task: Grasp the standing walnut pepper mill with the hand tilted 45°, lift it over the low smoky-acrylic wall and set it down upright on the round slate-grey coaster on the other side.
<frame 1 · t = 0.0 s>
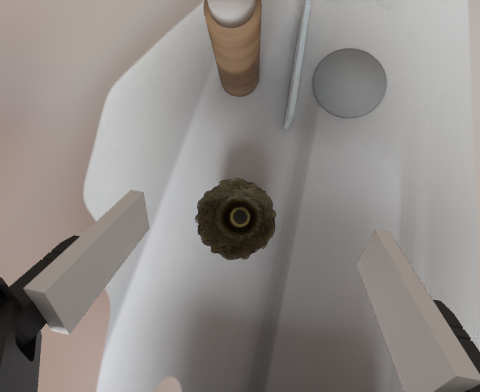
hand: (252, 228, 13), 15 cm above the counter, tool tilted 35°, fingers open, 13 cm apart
pepper mill: (239, 78, 30), on the counter
coaster: (348, 83, 29), on the counter
acrylic wall: (294, 73, 29), on the counter
cup: (240, 216, 29), on the counter
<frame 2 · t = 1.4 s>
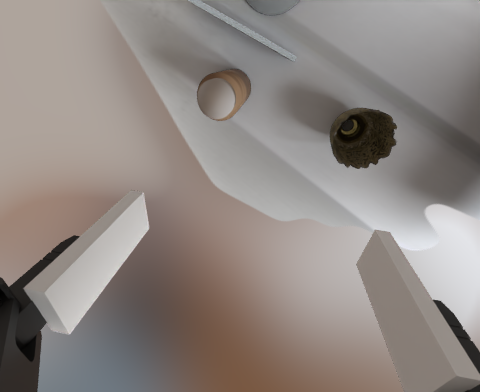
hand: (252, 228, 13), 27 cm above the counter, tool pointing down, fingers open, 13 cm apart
pepper mill: (234, 87, 34), on the counter
acrylic wall: (245, 31, 30), on the counter
cup: (347, 125, 35), on the counter
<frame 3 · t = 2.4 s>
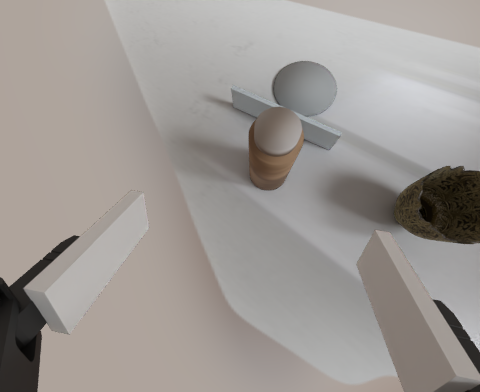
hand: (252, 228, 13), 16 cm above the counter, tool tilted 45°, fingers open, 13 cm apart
pepper mill: (267, 172, 31), on the counter
coaster: (304, 88, 33), on the counter
acrylic wall: (280, 126, 32), on the counter
cup: (404, 214, 29), on the counter
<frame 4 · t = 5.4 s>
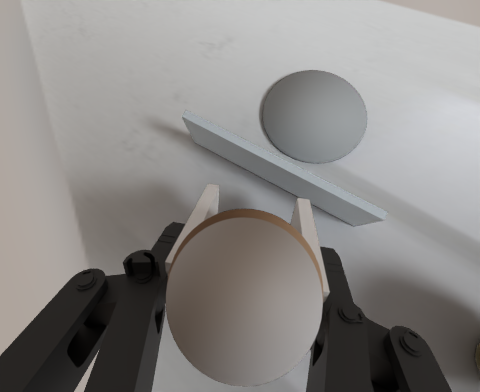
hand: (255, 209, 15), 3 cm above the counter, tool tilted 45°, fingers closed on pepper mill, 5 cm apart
pepper mill: (246, 263, 17), on the counter, touching gripper
coaster: (313, 115, 20), on the counter
acrylic wall: (271, 178, 19), on the counter
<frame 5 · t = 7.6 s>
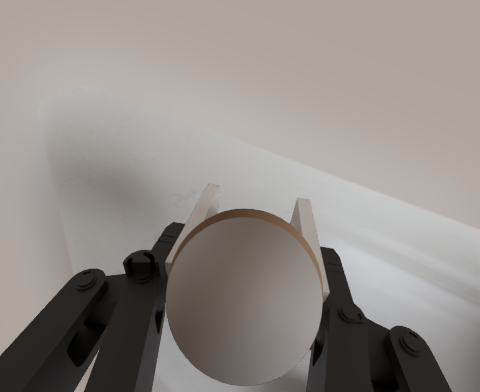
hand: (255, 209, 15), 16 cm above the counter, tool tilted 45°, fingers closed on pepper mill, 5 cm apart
pepper mill: (246, 263, 17), point 13 cm above the counter, touching gripper
when the fingers open (5 cm above the counter, at t = 9.9 s): pepper mill drops 1 cm, resting on coaster.
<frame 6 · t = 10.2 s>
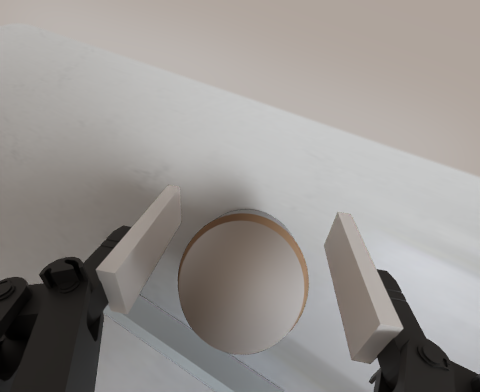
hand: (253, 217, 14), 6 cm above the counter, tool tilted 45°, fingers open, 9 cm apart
pepper mill: (246, 263, 19), resting on coaster
acrylic wall: (197, 338, 18), on the counter
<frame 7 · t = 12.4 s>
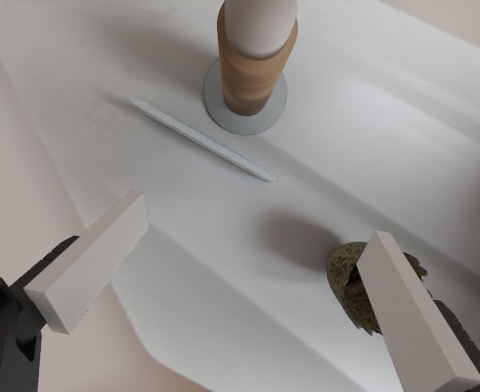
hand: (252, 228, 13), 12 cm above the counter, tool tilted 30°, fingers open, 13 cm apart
pepper mill: (245, 92, 24), resting on coaster
coaster: (245, 93, 25), on the counter
acrylic wall: (210, 147, 25), on the counter
cup: (340, 259, 27), on the counter
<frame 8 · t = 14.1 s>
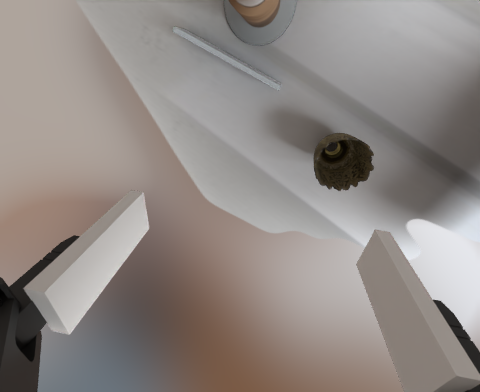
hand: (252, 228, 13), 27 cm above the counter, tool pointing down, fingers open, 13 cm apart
pepper mill: (259, 2, 28), resting on coaster
coaster: (259, 2, 28), on the counter
acrylic wall: (233, 59, 32), on the counter
cup: (331, 146, 37), on the counter
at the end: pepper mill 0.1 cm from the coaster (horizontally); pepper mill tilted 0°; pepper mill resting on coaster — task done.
